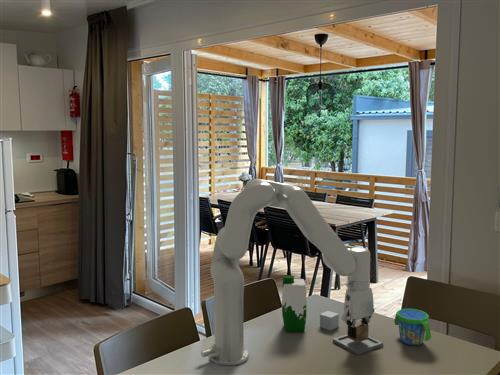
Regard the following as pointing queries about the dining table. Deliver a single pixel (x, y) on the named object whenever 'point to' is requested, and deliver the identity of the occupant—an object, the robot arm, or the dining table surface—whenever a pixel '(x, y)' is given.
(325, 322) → the bluegrey block
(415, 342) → the snack cup
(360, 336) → the oak cube
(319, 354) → the dining table surface
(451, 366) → the dining table surface
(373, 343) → the tray
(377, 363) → the dining table surface
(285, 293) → the soya milk
